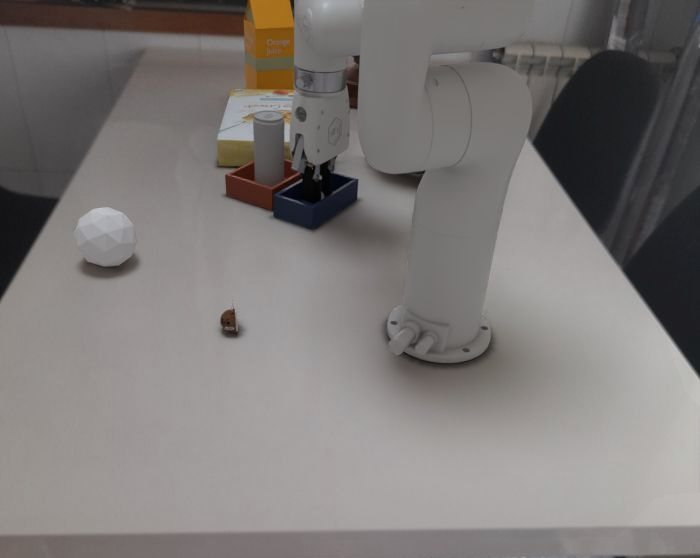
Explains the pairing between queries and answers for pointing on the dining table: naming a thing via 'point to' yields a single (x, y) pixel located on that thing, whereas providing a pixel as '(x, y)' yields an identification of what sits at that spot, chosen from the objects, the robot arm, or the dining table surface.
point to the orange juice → (269, 45)
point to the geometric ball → (105, 237)
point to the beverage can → (269, 147)
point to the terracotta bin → (257, 185)
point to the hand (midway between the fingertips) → (316, 197)
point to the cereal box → (250, 123)
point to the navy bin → (310, 214)
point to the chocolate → (229, 320)
